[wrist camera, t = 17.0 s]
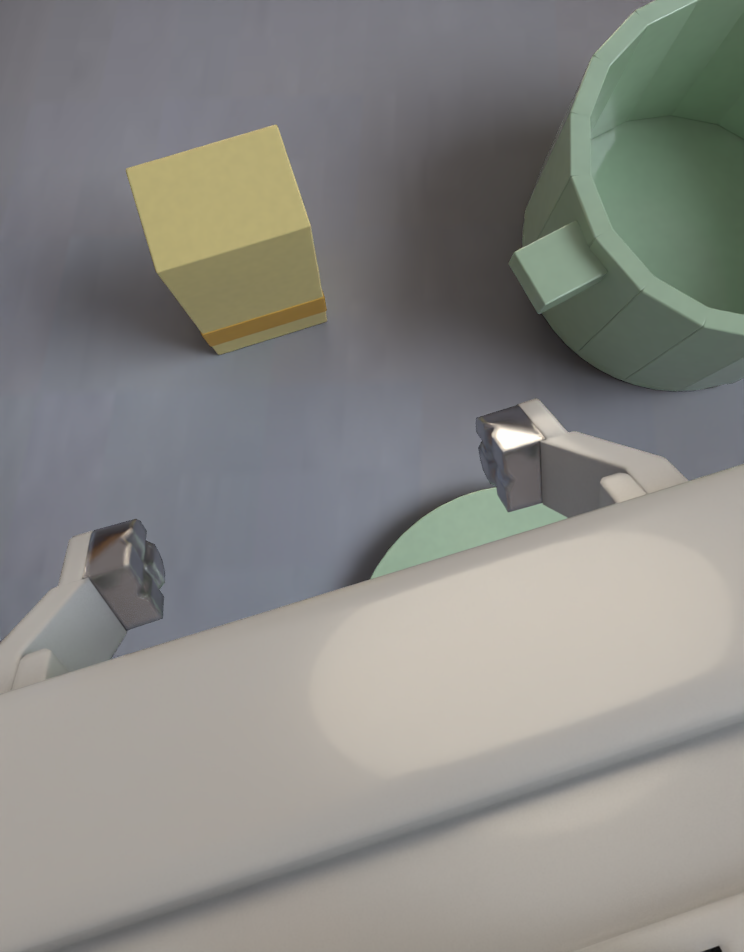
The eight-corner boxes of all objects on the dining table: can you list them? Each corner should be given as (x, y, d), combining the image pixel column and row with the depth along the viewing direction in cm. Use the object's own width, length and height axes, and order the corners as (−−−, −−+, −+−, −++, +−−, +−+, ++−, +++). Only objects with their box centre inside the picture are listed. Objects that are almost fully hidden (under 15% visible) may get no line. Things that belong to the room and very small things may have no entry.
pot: (921, 280, 31) (1095, 194, 24) (570, 471, 30) (637, 443, 22) (761, 41, 33) (877, -111, 25) (420, 213, 31) (437, 107, 24)
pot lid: (759, 728, 28) (834, 761, 24) (458, 910, 27) (476, 981, 23) (579, 428, 30) (618, 406, 25) (289, 589, 29) (274, 596, 24)
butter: (328, 322, 31) (312, 227, 22) (217, 356, 30) (154, 274, 21) (303, 246, 31) (277, 121, 22) (193, 279, 31) (122, 167, 22)
